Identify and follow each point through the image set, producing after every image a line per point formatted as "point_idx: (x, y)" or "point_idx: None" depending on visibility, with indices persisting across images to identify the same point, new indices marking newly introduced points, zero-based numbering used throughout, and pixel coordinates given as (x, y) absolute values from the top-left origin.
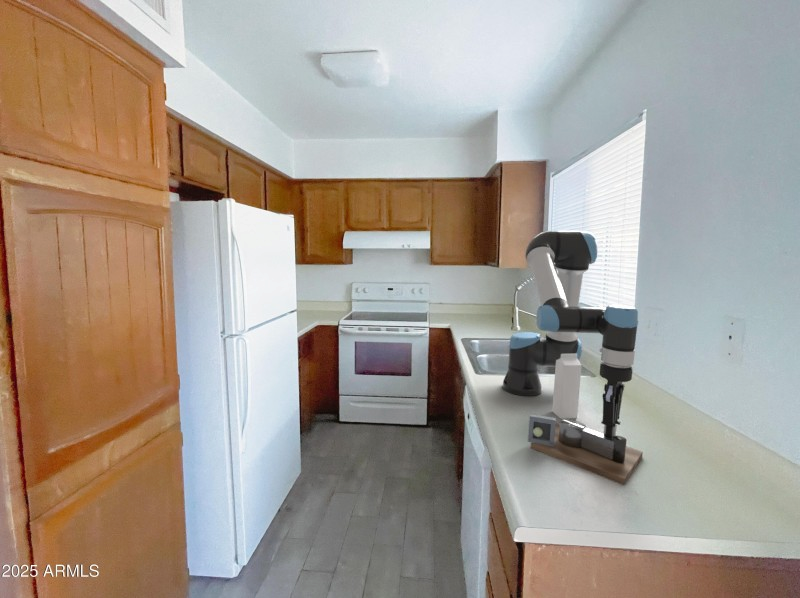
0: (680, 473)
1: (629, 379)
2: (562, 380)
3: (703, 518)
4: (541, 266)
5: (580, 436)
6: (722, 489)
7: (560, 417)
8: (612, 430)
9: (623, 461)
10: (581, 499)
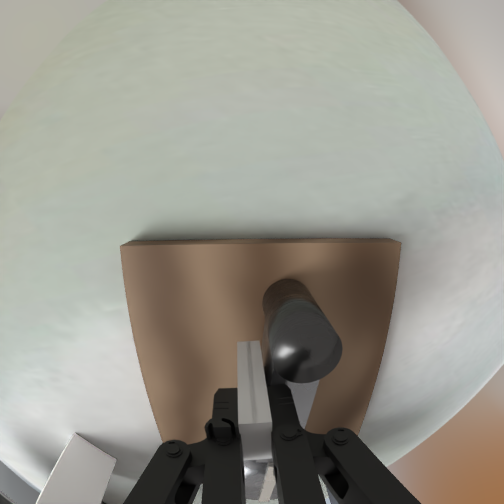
0: (152, 107)
1: None
2: None
3: (387, 44)
4: None
5: None
6: (173, 11)
7: (115, 461)
8: (271, 410)
9: (296, 281)
10: (485, 293)
